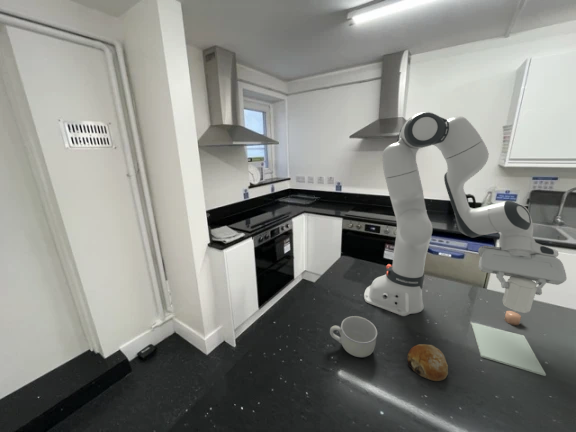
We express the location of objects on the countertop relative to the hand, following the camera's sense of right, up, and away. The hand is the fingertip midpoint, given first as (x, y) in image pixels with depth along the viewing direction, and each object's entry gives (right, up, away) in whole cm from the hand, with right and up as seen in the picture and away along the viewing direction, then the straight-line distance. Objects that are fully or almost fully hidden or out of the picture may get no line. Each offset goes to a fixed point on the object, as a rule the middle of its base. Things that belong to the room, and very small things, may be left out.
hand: (521, 290), depth 73 cm
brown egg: (+9, -15, +13) cm, 22 cm away
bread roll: (-32, -21, -5) cm, 38 cm away
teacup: (-51, -19, +2) cm, 55 cm away
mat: (-4, -18, +2) cm, 19 cm away
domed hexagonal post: (0, -6, +2) cm, 6 cm away
